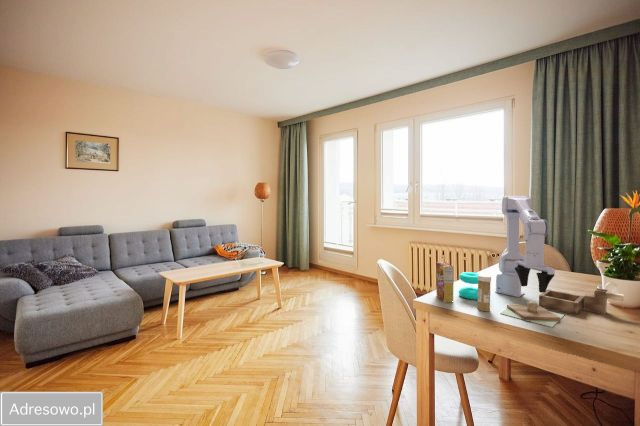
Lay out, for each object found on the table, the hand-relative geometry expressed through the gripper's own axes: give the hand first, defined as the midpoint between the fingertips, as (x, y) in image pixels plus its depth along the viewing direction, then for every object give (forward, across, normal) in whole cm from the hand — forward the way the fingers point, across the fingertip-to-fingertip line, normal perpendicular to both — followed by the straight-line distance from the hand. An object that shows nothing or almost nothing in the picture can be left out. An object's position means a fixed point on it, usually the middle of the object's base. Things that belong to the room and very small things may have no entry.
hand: (532, 288), depth 116 cm
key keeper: (+10, -2, -27) cm, 28 cm away
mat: (+10, 0, 0) cm, 10 cm away
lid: (+9, 0, 0) cm, 9 cm away
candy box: (+10, +23, +21) cm, 33 cm away
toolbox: (+10, +4, -18) cm, 21 cm away
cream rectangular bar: (+4, -6, -28) cm, 29 cm away
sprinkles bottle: (+10, +9, +14) cm, 19 cm away
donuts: (+10, +23, +8) cm, 26 cm away
